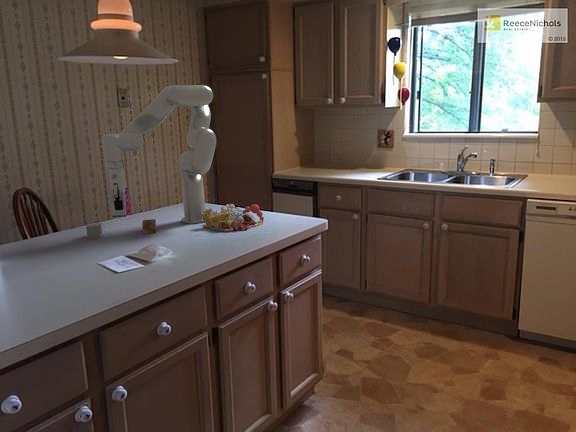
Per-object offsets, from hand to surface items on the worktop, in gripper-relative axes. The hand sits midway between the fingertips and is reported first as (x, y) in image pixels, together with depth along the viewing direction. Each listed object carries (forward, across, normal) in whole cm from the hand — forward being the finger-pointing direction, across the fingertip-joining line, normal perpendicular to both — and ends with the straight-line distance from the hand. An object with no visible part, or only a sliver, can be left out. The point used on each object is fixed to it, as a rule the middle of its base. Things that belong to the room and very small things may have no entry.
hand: (120, 207), depth 200 cm
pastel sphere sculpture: (+12, +2, -46) cm, 47 cm away
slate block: (+11, 0, +11) cm, 16 cm away
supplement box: (+3, 0, 0) cm, 3 cm away
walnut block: (+12, 0, -11) cm, 16 cm away
